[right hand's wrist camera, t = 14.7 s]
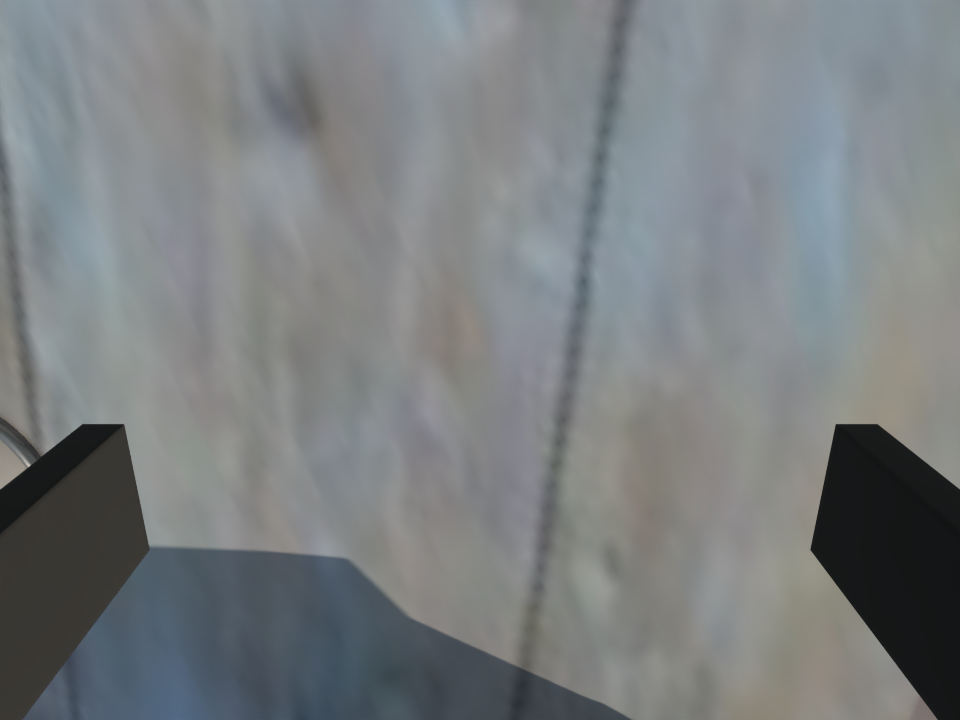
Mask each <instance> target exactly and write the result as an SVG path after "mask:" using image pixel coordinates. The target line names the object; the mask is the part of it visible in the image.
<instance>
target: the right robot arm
mask: <svg viewBox="0 0 960 720" xmlns="http://www.w3.org/2000/svg"><path fill="white" fill-rule="evenodd" d="M148 551H149V545H148V540H147V535H146V530H145V525H144V520H143V515H142V510H141V505H140V500H139V495H138V490H137V485H136V481H135V476H134V471H133V466H132V461H131V456H130V451H129V446H128V441H127V436H126V431H125V426H124V424H82V425H81V426H80V427H78V428H77V429H76V430H75V431H73V432H72V433H71V434H70V435H68V436H67V437H66V438H65V439H63V440H62V441H61V442H60V443H58V444H57V445H56V446H55V447H53V448H52V449H51V450H49V451H48V452H47V453H46V454H44V455H43V456H42V457H41V456H40V455H39V454H38V452H37V451H36V450H35V448H34V447H33V446H32V445H31V444H30V443H29V442H28V441H27V439H26V438H25V437H24V436H22V435H21V434H20V433H19V432H18V431H17V430H16V429H15V428H14V427H12V426H11V425H10V424H9V423H7V422H6V421H5V420H3V419H2V418H0V720H22V719H23V718H24V716H25V715H26V714H27V712H28V711H29V710H30V708H31V707H32V706H33V705H34V703H35V702H36V701H37V699H38V698H39V697H40V695H41V694H42V693H43V691H44V690H45V689H46V687H47V686H48V685H49V683H50V682H51V681H52V679H53V678H54V677H55V675H56V674H57V673H58V671H59V670H60V669H61V667H62V666H63V665H64V663H65V662H66V661H67V659H68V658H69V657H70V655H71V654H72V653H73V651H74V650H75V649H76V647H77V646H78V645H79V643H80V642H81V641H82V639H83V638H84V637H85V635H86V634H87V633H88V631H89V630H90V629H91V627H92V626H93V625H94V623H95V622H96V621H97V619H98V618H99V617H100V615H101V614H102V613H103V611H104V610H105V609H106V607H107V606H108V605H109V603H110V602H111V601H112V599H113V598H114V597H115V595H116V594H117V593H118V591H119V590H120V589H121V587H122V586H123V585H124V583H125V582H126V581H127V579H128V578H129V577H130V575H131V574H132V573H133V571H134V570H135V569H136V567H137V566H138V565H139V563H140V562H141V561H142V559H143V558H144V557H145V555H146V554H147V553H148ZM811 551H812V553H813V554H814V555H815V557H816V558H817V559H818V561H819V562H820V563H821V565H822V566H823V567H824V569H825V570H826V571H827V573H828V574H829V575H830V577H831V578H832V579H833V581H834V582H835V583H836V585H837V586H838V587H839V589H840V590H841V591H842V593H843V594H844V595H845V597H846V598H847V599H848V601H849V602H850V603H851V605H852V606H853V607H854V609H855V610H856V611H857V613H858V614H859V615H860V617H861V618H862V619H863V621H864V622H865V623H866V625H867V626H868V627H869V629H870V630H871V631H872V633H873V634H874V635H875V637H876V638H877V639H878V641H879V642H880V643H881V645H882V646H883V647H884V649H885V650H886V651H887V653H888V654H889V655H890V657H891V658H892V659H893V661H894V662H895V663H896V665H897V666H898V667H899V669H900V670H901V671H902V673H903V674H904V675H905V677H906V678H907V679H908V681H909V682H910V683H911V685H912V686H913V687H914V689H915V690H916V691H917V693H918V694H919V695H920V697H921V698H922V699H923V700H924V702H925V703H926V704H927V706H928V707H929V708H930V710H931V711H932V712H933V714H934V715H935V716H936V718H937V719H938V720H960V489H959V488H957V487H956V486H955V485H953V484H952V483H951V482H950V481H948V480H947V479H946V478H945V477H943V476H942V475H941V474H940V473H938V472H937V471H936V470H935V469H933V468H932V467H931V466H929V465H928V464H927V463H926V462H924V461H923V460H922V459H921V458H919V457H918V456H917V455H916V454H914V453H913V452H912V451H911V450H909V449H908V448H907V447H905V446H904V445H903V444H902V443H900V442H899V441H898V440H897V439H895V438H894V437H893V436H892V435H890V434H889V433H888V432H887V431H885V430H884V429H883V428H882V427H880V426H879V425H878V424H836V426H835V431H834V436H833V441H832V446H831V451H830V456H829V461H828V466H827V471H826V476H825V481H824V485H823V490H822V495H821V500H820V505H819V510H818V515H817V520H816V525H815V530H814V535H813V540H812V545H811Z"/></svg>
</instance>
